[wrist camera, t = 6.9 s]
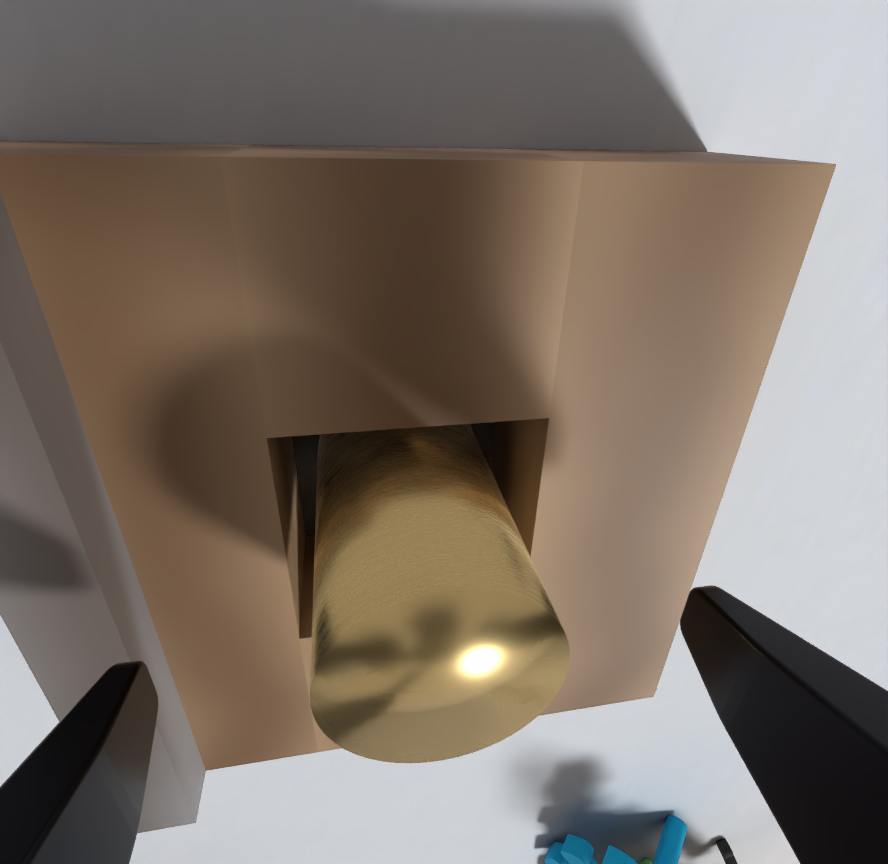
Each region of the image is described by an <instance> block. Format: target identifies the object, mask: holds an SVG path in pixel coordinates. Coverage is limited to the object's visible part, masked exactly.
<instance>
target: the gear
mask: <svg viewBox="0 0 888 864" xmlns="http://www.w3.org/2000/svg"><path fill="white" fill-rule="evenodd" d="M686 832H687V825H686V824H685V823H684V822H683V821H682V820H680V819H679V818H677V817H675V816H672V815H669V816H668V817H667V819H666V822H665V825H664V828H663V832H662V835H661V838H660V841H659V845H658V848H657V851H656V855H655V858H654V861H653V862H652V861H651V860H649V859H647V858H645V859H644V860H643V862H642V864H678V861H679V857H680V854H681V850H682V846H683V843H684V839H685V835H686ZM593 854H594V849H593V847H592V846H591V845H590V843H589V842H588V841H586V840H584V839H582V838H580V837H577V836H574V835H570V834H568V835H567V837H566V840H565V842H564V845H563V844H562V843H560V842H554V843H553V844H552V845H551V846H550V848H549V851H548V853H547V855H546V857H545V860H544V862H545V863H546V864H598V863H597V862H596V861H595V860H594V859H593V857H592V856H593ZM602 864H637V862H636V861H635V860H634V859H633V858H631V857H630V856H629V855H627V854H626V853H624V852H622V851H621V850H619V849H617V848H615V847H613V846H611V845H609V846H608V848H607V851H606V854H605V857H604V859H603V862H602Z"/></svg>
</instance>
